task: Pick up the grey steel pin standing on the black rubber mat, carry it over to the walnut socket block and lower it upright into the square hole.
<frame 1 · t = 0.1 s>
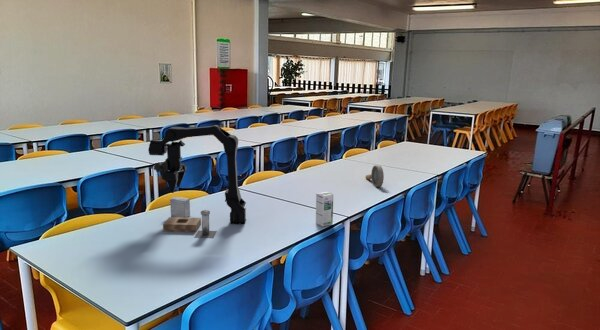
hand: (175, 189, 196), 15 cm above the table, fingers open, 9 cm apart
syrup box: (323, 224, 201), on the table
pin: (205, 234, 184), resting on mat
medicine box: (180, 216, 206), on the table
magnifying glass: (373, 184, 272), on the table
socket block: (182, 228, 191), on the table
mat: (205, 234, 184), on the table
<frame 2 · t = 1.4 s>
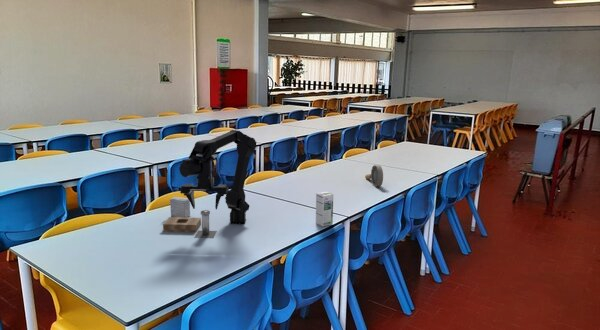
hand: (205, 208, 182), 11 cm above the table, fingers open, 9 cm apart
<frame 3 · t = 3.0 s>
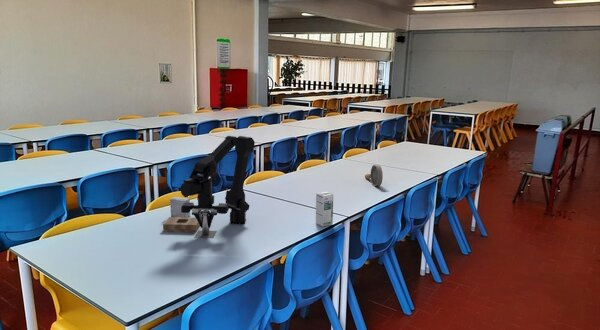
hand: (205, 227, 183), 3 cm above the table, fingers closed on pin, 3 cm apart
pin: (205, 234, 184), resting on mat, touching gripper
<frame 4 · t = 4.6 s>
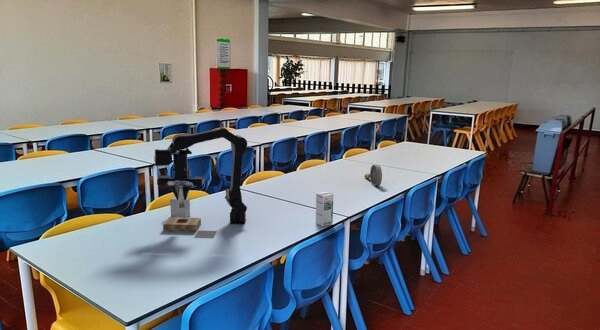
hand: (181, 200, 187), 13 cm above the table, fingers closed on pin, 3 cm apart
pin: (181, 206, 188), point 10 cm above the table, touching gripper
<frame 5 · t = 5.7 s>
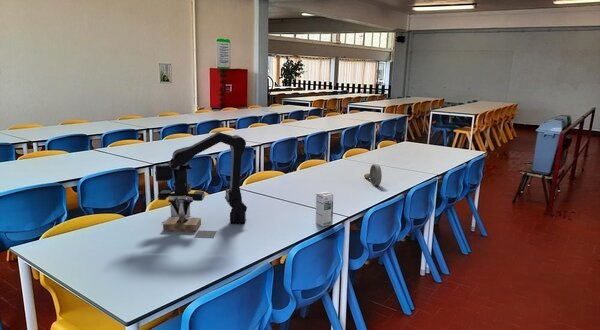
hand: (182, 214, 189), 6 cm above the table, fingers closed on pin, 3 cm apart
pin: (182, 221, 190), point 3 cm above the table, touching gripper
when the fingers open (4 cm above the table, at t = 6.3 s): pin drops 1 cm, resting in socket block.
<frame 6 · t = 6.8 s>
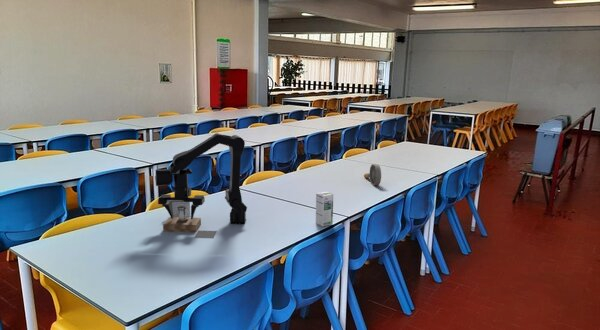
hand: (182, 218, 190), 4 cm above the table, fingers open, 8 cm apart
pin: (182, 228, 190), resting in socket block
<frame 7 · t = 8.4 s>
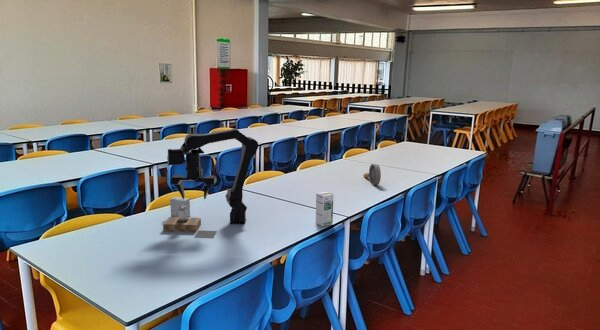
hand: (194, 198, 190), 13 cm above the table, fingers open, 9 cm apart
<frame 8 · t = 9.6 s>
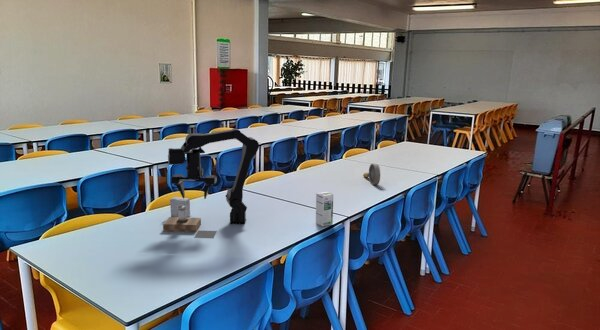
hand: (194, 198, 190), 13 cm above the table, fingers open, 9 cm apart
at the end: pin 0.1 cm off-centre on the socket block, point 0.0 cm above the socket block's base; pin tilted 0°; the gripper is holding nothing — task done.
